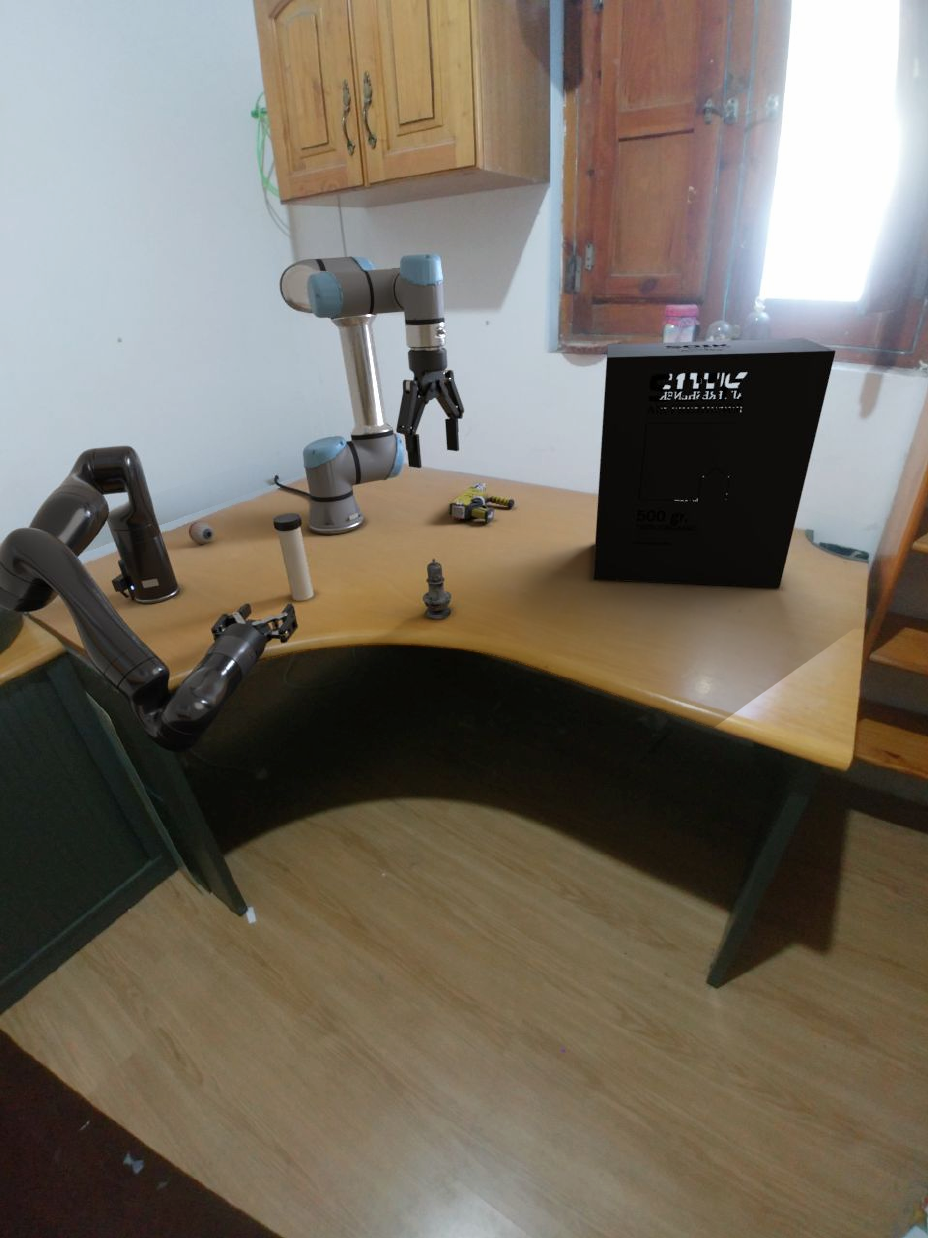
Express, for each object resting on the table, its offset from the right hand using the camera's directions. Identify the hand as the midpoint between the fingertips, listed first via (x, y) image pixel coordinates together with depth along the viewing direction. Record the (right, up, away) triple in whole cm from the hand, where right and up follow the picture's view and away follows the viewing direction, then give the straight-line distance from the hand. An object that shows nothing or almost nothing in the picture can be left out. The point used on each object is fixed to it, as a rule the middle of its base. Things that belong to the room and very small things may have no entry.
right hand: (434, 458), depth 126 cm
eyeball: (-64, -13, +36) cm, 75 cm away
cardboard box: (+55, -21, +10) cm, 60 cm away
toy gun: (+13, -2, +48) cm, 50 cm away
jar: (-29, -29, +6) cm, 41 cm away
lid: (-30, -13, -3) cm, 33 cm away
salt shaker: (+1, -33, -4) cm, 33 cm away
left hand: (-31, -32, -11) cm, 46 cm away
